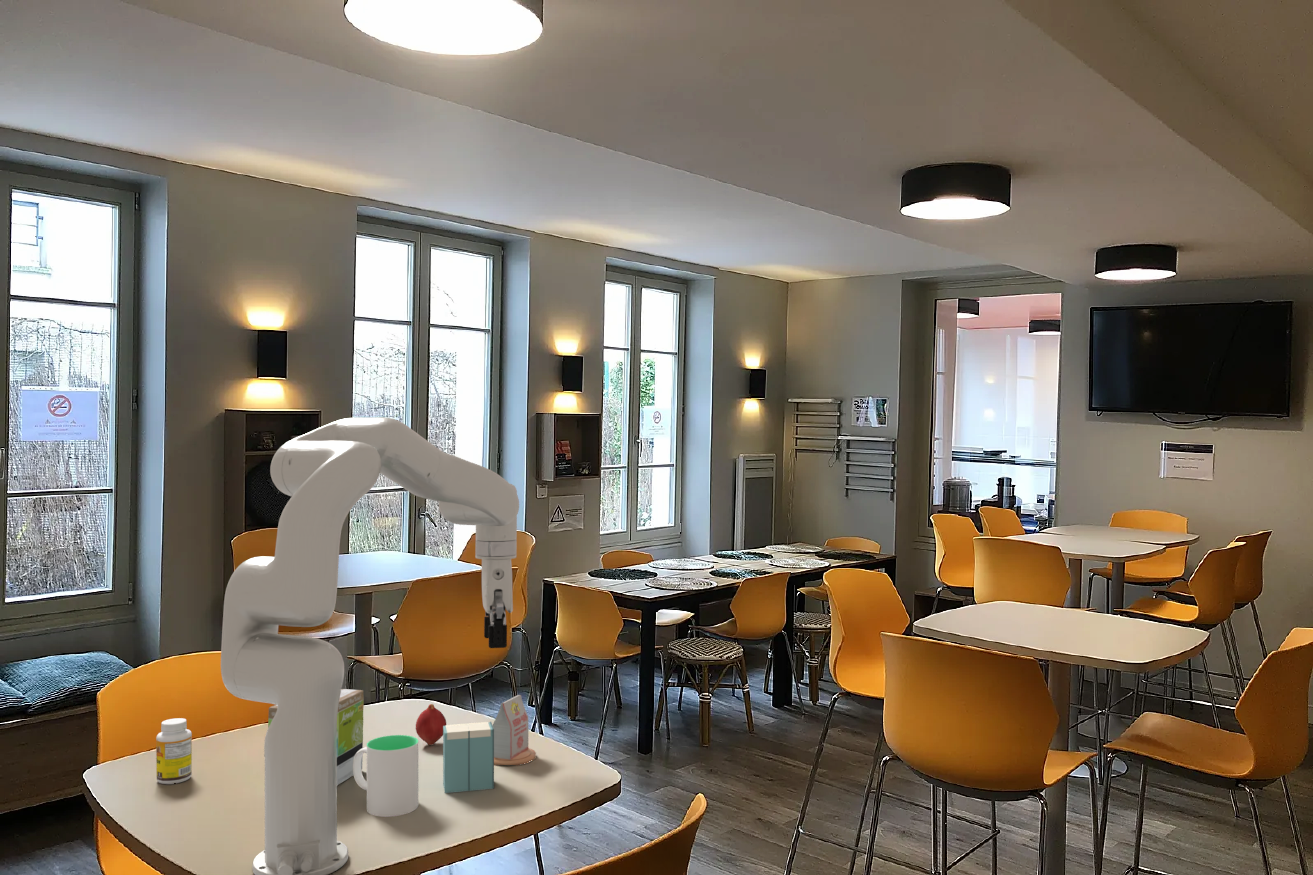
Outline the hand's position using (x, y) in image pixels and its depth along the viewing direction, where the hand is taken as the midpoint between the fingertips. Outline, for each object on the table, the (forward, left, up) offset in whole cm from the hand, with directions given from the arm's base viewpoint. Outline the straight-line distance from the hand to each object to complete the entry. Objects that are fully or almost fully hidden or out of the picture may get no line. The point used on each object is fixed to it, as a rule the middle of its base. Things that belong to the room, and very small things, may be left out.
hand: (495, 642), depth 184 cm
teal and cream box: (-13, +6, -22) cm, 26 cm away
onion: (+12, +11, -22) cm, 27 cm away
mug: (-18, +20, -22) cm, 35 cm away
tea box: (-4, +31, -22) cm, 38 cm away
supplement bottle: (+4, +55, -22) cm, 59 cm away
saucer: (0, -3, -22) cm, 22 cm away
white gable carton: (0, -3, -21) cm, 21 cm away
